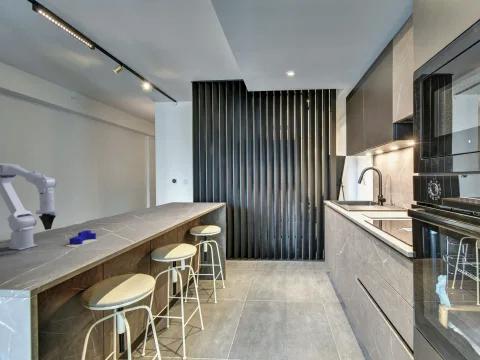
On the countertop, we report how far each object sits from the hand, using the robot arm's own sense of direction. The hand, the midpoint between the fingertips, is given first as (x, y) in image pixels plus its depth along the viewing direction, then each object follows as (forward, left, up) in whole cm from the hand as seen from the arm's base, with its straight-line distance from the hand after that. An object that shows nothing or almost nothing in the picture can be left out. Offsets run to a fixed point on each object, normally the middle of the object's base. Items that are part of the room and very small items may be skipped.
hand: (48, 229), depth 126 cm
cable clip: (+2, +13, -7) cm, 15 cm away
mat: (+8, +12, -9) cm, 17 cm away
